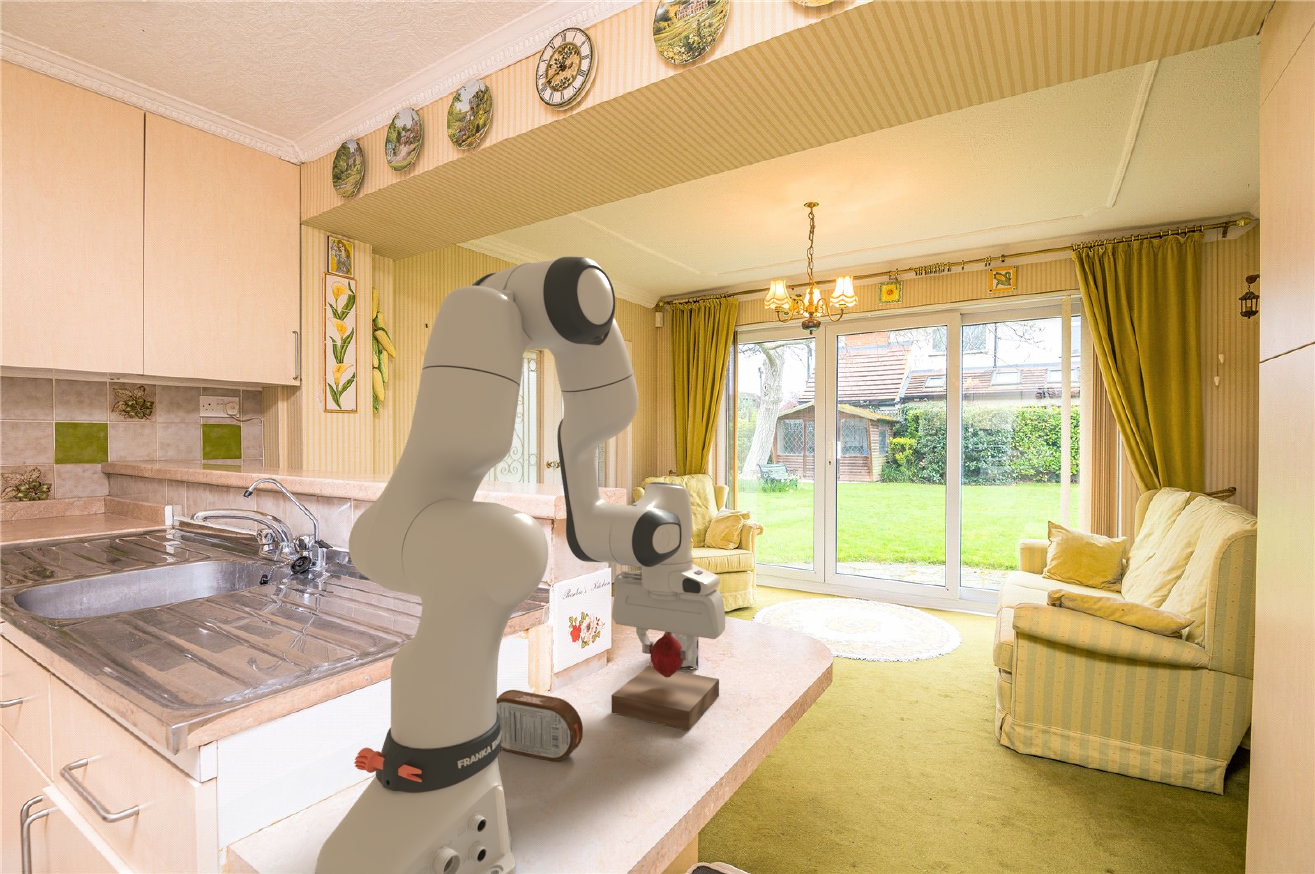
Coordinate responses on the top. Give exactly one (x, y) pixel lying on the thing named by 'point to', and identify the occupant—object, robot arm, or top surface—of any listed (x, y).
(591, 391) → the robot arm
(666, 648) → the onion
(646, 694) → the walnut block
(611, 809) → the top surface
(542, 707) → the tin
